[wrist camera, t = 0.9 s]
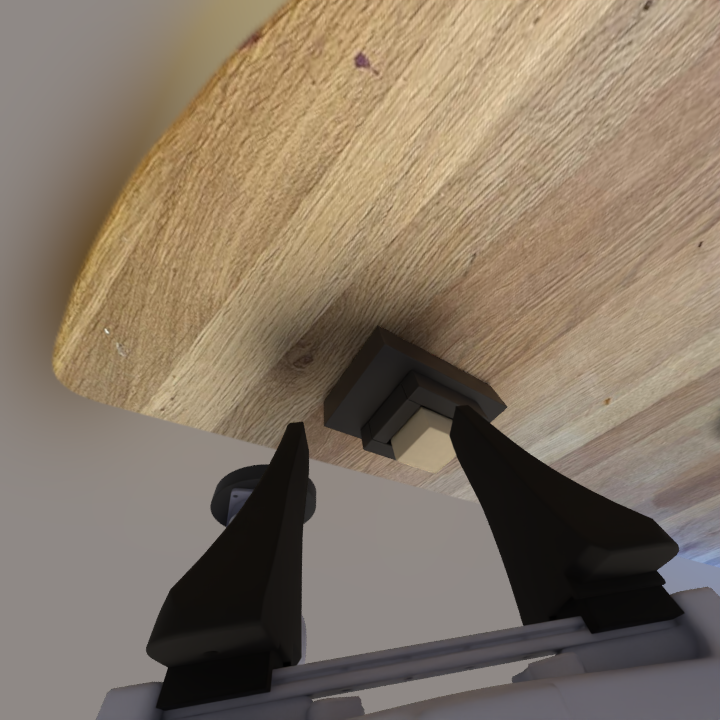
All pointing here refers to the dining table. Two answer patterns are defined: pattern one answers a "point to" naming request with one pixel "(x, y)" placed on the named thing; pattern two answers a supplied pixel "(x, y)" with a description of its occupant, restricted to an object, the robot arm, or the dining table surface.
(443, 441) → the switch
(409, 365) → the switch plate
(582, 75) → the dining table surface
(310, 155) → the dining table surface
